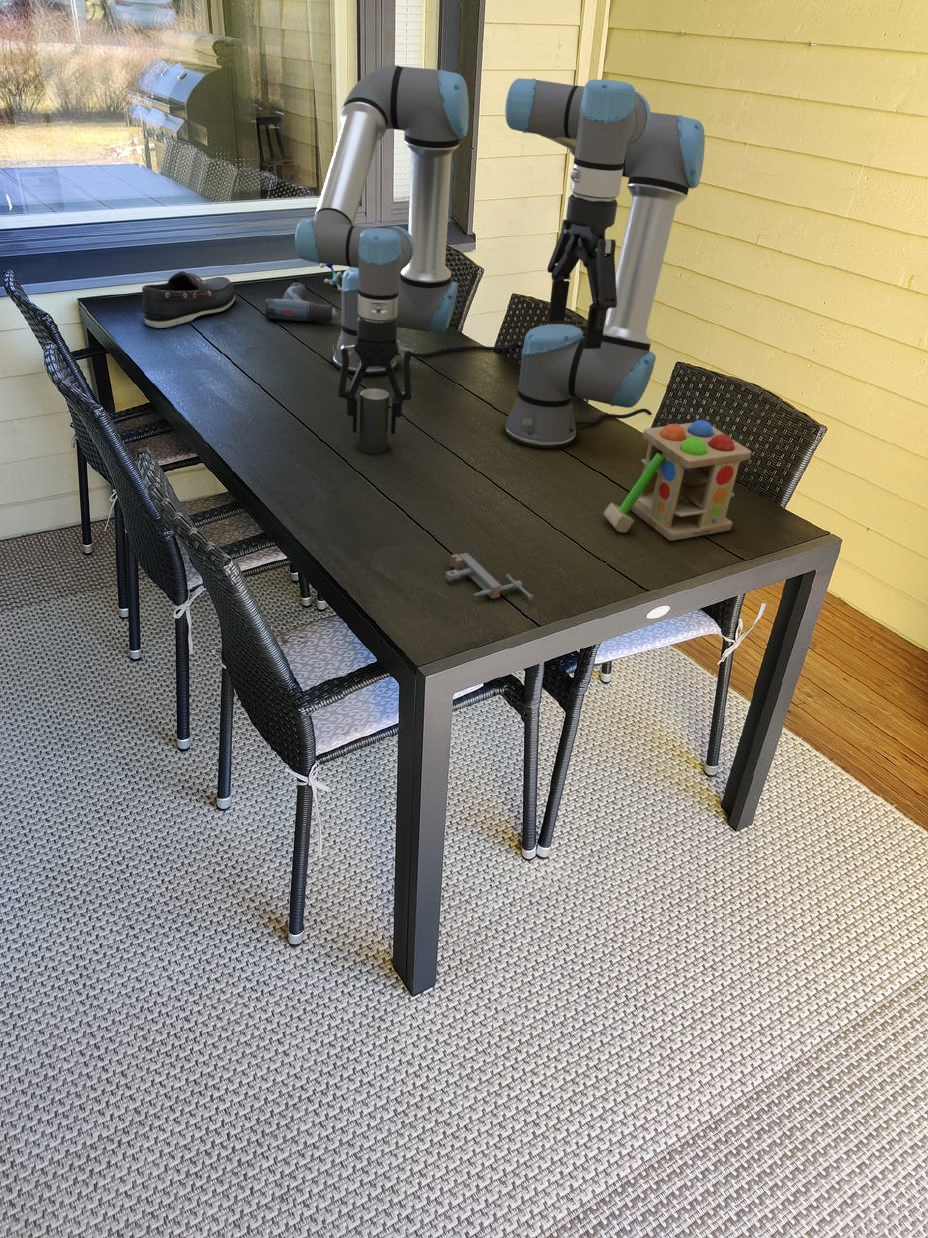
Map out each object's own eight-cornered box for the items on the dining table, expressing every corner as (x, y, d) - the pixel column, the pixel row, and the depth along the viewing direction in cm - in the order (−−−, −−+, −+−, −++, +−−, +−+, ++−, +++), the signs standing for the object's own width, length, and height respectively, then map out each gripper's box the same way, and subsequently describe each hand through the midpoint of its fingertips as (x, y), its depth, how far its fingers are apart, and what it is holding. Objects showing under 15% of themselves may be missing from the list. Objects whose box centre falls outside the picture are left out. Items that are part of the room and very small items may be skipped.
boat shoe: (253, 306, 269) (251, 267, 264) (162, 330, 245) (157, 287, 240) (219, 297, 275) (216, 259, 269) (126, 320, 251) (121, 278, 245)
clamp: (435, 558, 161) (487, 546, 165) (434, 569, 162) (486, 557, 167) (482, 605, 150) (536, 591, 155) (480, 617, 152) (534, 603, 156)
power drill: (344, 304, 276) (335, 327, 259) (277, 298, 275) (264, 321, 258) (344, 285, 273) (335, 306, 256) (277, 279, 272) (264, 300, 255)
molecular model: (352, 283, 281) (340, 248, 280) (324, 295, 285) (312, 261, 283) (368, 285, 291) (357, 252, 290) (341, 297, 295) (330, 265, 294)
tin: (392, 449, 200) (395, 395, 193) (371, 456, 196) (372, 401, 190) (375, 439, 203) (376, 386, 196) (353, 446, 199) (354, 391, 193)
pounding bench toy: (630, 549, 173) (650, 456, 163) (588, 512, 183) (603, 423, 173) (732, 530, 182) (756, 441, 172) (686, 496, 193) (706, 410, 183)
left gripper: (324, 321, 180) (323, 436, 193) (431, 325, 183) (424, 439, 196) (324, 308, 186) (323, 421, 199) (428, 313, 189) (421, 424, 202)
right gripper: (538, 178, 157) (522, 310, 169) (609, 215, 138) (586, 361, 150) (579, 179, 160) (561, 309, 172) (655, 215, 141) (629, 359, 153)
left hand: (373, 430), depth 198 cm, fingers open, 7 cm apart
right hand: (573, 333), depth 161 cm, fingers open, 13 cm apart
